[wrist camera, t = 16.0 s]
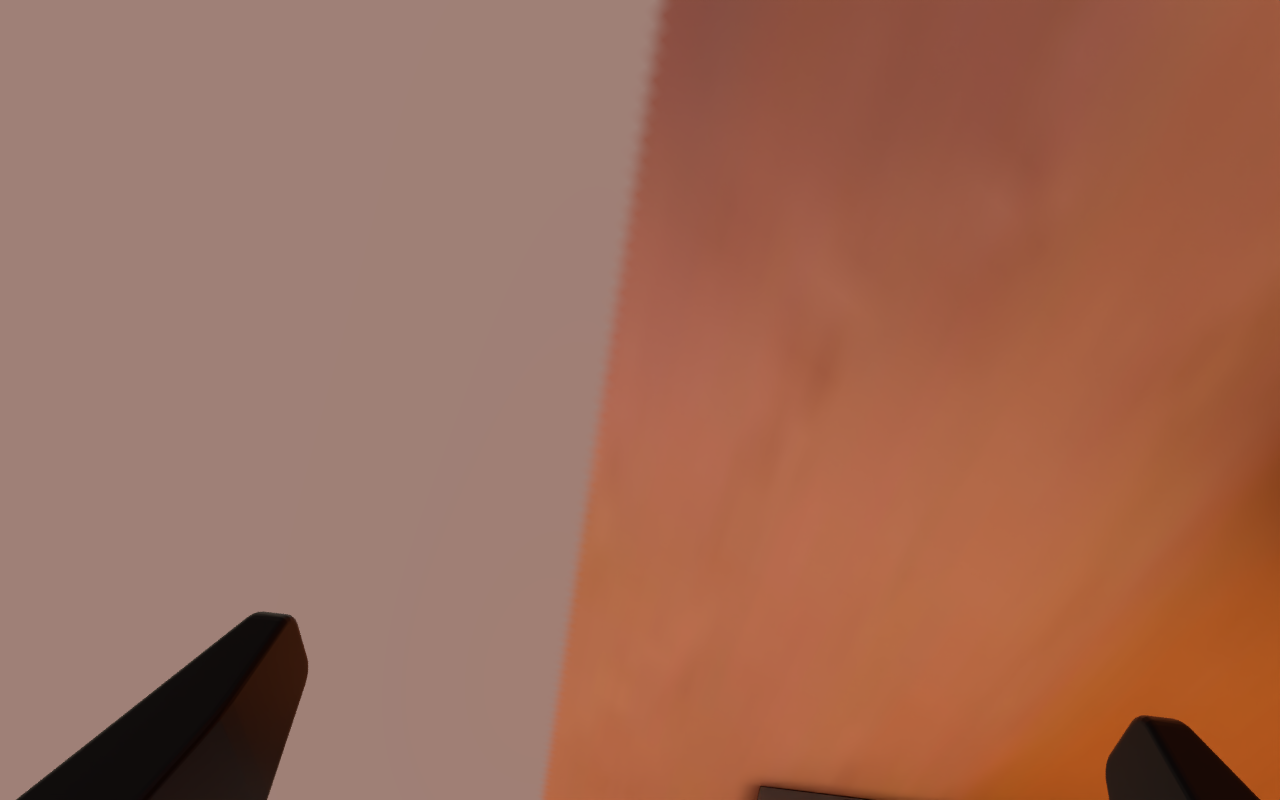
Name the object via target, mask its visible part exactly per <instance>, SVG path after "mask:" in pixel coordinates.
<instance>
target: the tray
mask: <svg viewBox="0 0 1280 800" xmlns="http://www.w3.org/2000/svg"><path fill="white" fill-rule="evenodd" d="M757 800H864V799H856V798H848V797H840V796H832V795H824V794H816V793H808V792H800V791H792V790H784V789H776V788H768V787H760V791H759V795H758V799H757Z"/></svg>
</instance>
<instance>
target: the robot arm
mask: <svg viewBox="0 0 1280 800" xmlns="http://www.w3.org/2000/svg"><path fill="white" fill-rule="evenodd" d="M307 674H308V660H307V656H306V652H305V649H304V645H303V642H302V639H301V635H300V631H299V628H298V624H297V622H296V620H295V619H294V618H293V617H292V616H291V615H288V614H279V613H271V612H257V613H254V614H252V615H250V616H249V617H247V618H246V619H245V620H243V621H242V622H241V623H240V624H238V625H237V626H236V627H234V628H233V629H232V630H231V631H229V632H228V633H227V634H226V635H224V636H223V637H222V638H220V639H219V640H218V641H217V642H215V643H214V644H213V645H212V646H210V647H209V648H208V649H207V650H205V651H204V652H203V653H201V654H200V655H199V656H198V657H196V658H195V659H194V660H193V661H191V662H190V663H189V664H188V665H186V666H185V667H184V668H183V669H181V670H180V671H179V672H177V673H176V674H175V675H174V676H172V677H171V678H170V679H169V680H167V681H166V682H165V683H163V684H162V685H161V686H160V687H158V688H157V689H156V690H155V691H153V692H152V693H151V694H149V695H148V696H147V697H146V698H144V699H143V700H142V701H141V702H139V703H138V704H137V705H136V706H134V707H133V708H132V709H131V710H129V711H128V712H127V713H125V714H124V715H123V716H122V717H120V718H119V719H118V720H117V721H115V722H114V723H113V724H111V725H110V726H109V727H108V728H106V729H105V730H104V731H103V732H101V733H100V734H99V735H98V736H96V737H95V738H94V739H93V740H91V741H90V742H89V743H87V744H86V745H85V746H84V747H82V748H81V749H80V750H79V751H77V752H76V753H75V754H73V755H72V756H71V757H70V758H68V759H67V760H66V761H65V762H63V763H62V764H61V765H59V766H58V767H57V768H56V769H54V770H53V771H52V772H51V773H49V774H48V775H47V776H46V777H44V778H43V779H42V780H40V781H39V782H38V783H37V784H35V785H34V786H33V787H32V788H30V789H29V790H28V791H27V792H25V793H24V794H23V795H21V796H20V797H19V798H18V799H17V800H267V798H268V795H269V792H270V789H271V786H272V783H273V780H274V777H275V774H276V771H277V768H278V765H279V762H280V759H281V756H282V753H283V750H284V747H285V744H286V741H287V738H288V735H289V732H290V729H291V726H292V723H293V719H294V717H295V714H296V711H297V708H298V705H299V701H300V699H301V696H302V692H303V689H304V687H305V683H306V679H307ZM1106 783H1107V789H1108V794H1109V800H1260V799H1259V798H1258V797H1257V796H1256V795H1255V794H1254V793H1253V792H1252V791H1251V790H1250V789H1249V788H1248V787H1247V786H1246V785H1245V784H1244V783H1243V782H1242V781H1241V780H1240V779H1239V778H1238V777H1237V776H1236V775H1235V774H1234V773H1233V772H1232V770H1231V769H1230V768H1229V767H1228V766H1227V765H1226V764H1225V763H1224V762H1223V761H1222V760H1221V759H1220V758H1219V757H1218V756H1217V755H1216V754H1215V753H1214V752H1213V751H1212V750H1211V749H1210V748H1209V747H1208V746H1207V745H1206V744H1205V743H1204V742H1203V741H1202V740H1201V739H1200V738H1199V737H1198V736H1197V735H1196V734H1195V733H1194V732H1193V731H1192V730H1191V729H1190V728H1189V727H1188V726H1187V725H1185V724H1184V723H1183V722H1181V721H1179V720H1175V719H1171V718H1163V717H1154V716H1145V715H1143V716H1139V717H1137V718H1135V719H1134V720H1133V721H1132V722H1131V724H1130V725H1129V727H1128V728H1127V730H1126V731H1125V733H1124V734H1123V736H1122V737H1121V739H1120V740H1119V742H1118V743H1117V745H1116V746H1115V748H1114V749H1113V751H1112V752H1111V754H1110V755H1109V757H1108V760H1107V764H1106Z"/></svg>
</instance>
